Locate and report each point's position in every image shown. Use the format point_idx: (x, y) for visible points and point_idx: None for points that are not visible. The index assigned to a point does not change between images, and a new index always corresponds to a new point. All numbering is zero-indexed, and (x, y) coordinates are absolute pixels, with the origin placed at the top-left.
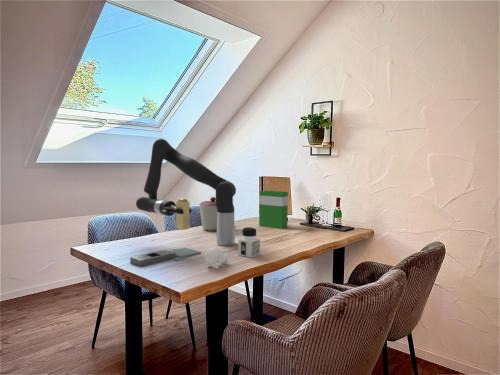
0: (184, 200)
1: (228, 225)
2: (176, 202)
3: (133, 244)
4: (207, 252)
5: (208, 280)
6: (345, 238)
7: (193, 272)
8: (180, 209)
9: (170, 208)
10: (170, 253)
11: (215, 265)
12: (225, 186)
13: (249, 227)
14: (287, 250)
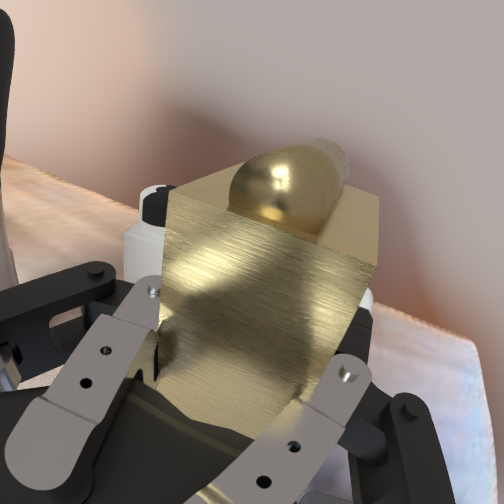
0: (348, 164)
1: (9, 250)
2: (365, 289)
3: None
4: (372, 308)
5: (410, 323)
6: (25, 163)
7: (397, 366)
8: (356, 310)
9: (422, 444)
10: (335, 502)
11: None
12: (8, 28)
13: (160, 190)
14: (106, 216)
